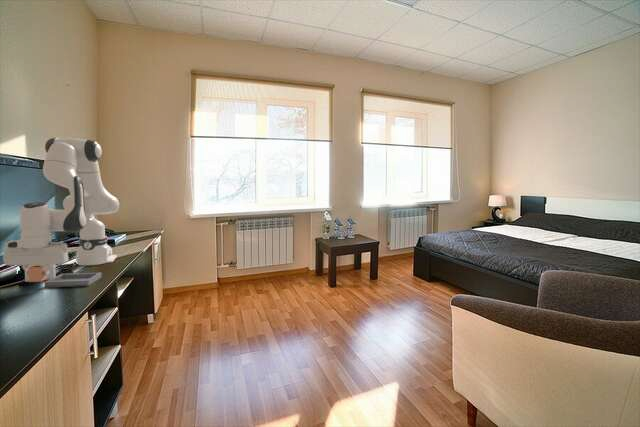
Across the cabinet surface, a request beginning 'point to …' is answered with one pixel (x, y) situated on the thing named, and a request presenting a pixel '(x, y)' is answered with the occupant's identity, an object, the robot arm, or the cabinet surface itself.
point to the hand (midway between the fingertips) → (37, 274)
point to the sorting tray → (73, 280)
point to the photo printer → (51, 275)
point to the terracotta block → (36, 273)
